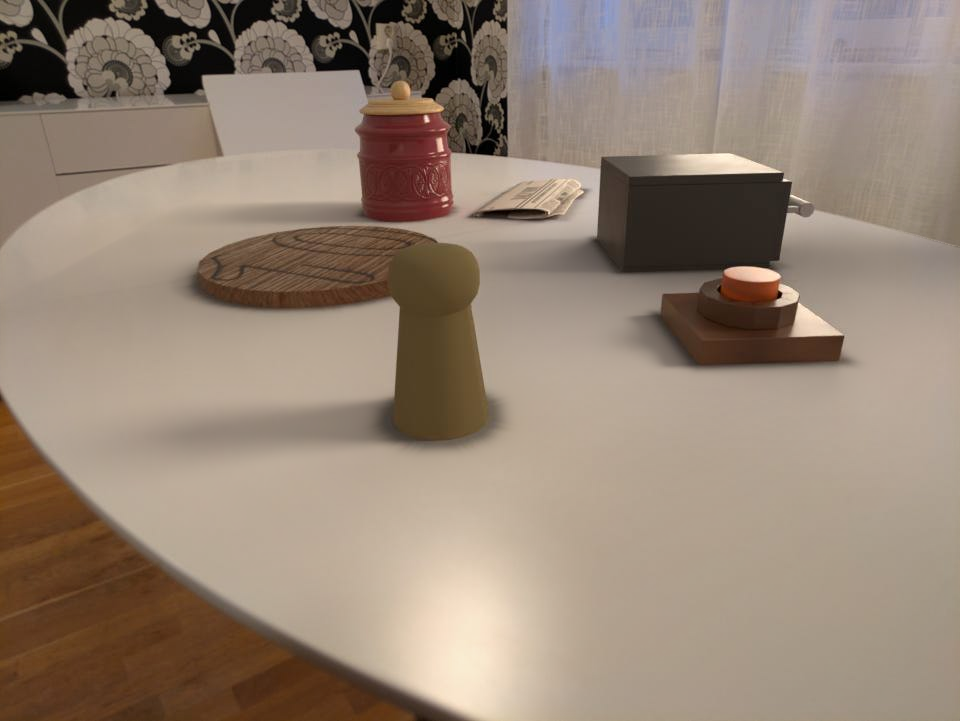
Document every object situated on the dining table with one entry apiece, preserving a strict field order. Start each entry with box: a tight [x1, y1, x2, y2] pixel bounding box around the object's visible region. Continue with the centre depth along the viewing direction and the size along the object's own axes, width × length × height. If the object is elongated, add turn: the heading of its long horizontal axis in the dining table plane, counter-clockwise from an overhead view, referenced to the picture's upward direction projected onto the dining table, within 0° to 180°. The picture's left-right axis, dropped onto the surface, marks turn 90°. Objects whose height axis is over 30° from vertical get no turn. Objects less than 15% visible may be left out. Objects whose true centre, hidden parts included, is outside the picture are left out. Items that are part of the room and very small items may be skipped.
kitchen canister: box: [354, 80, 454, 223], centre depth 92 cm, size 13×13×18 cm
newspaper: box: [473, 178, 585, 220], centre depth 100 cm, size 23×12×2 cm, turn 161°
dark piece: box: [770, 177, 815, 262], centre depth 72 cm, size 18×13×8 cm
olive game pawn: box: [387, 242, 490, 442], centre depth 39 cm, size 6×6×11 cm
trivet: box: [196, 225, 439, 309], centre depth 71 cm, size 25×25×2 cm
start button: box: [720, 266, 782, 302], centre depth 50 cm, size 4×4×2 cm
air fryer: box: [596, 152, 785, 274], centre depth 72 cm, size 15×14×10 cm
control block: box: [659, 277, 845, 366], centre depth 51 cm, size 10×10×4 cm
